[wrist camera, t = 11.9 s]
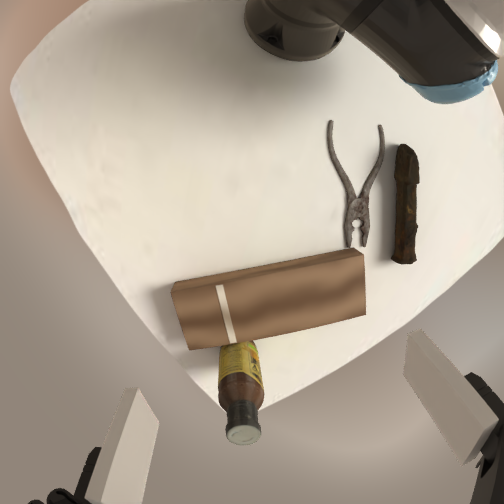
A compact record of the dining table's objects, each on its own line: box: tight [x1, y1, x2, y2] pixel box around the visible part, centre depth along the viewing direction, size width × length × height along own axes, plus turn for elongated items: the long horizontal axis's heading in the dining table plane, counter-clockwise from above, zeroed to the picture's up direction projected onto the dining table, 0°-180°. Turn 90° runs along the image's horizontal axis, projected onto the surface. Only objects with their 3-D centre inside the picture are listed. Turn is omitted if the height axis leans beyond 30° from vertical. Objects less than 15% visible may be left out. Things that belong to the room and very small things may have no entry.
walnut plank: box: [171, 248, 366, 350], centre depth 44 cm, size 10×28×4 cm, turn 100°
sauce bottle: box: [218, 340, 264, 445], centre depth 39 cm, size 6×6×20 cm
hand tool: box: [391, 144, 419, 264], centre depth 41 cm, size 19×4×5 cm, turn 2°
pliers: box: [328, 120, 385, 248], centre depth 42 cm, size 10×1×20 cm
